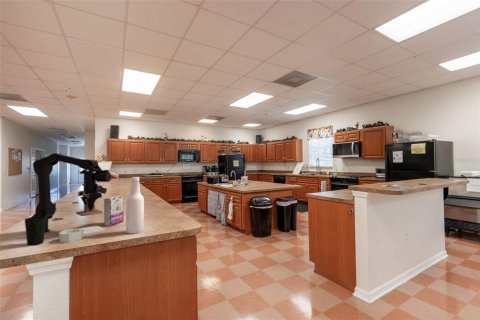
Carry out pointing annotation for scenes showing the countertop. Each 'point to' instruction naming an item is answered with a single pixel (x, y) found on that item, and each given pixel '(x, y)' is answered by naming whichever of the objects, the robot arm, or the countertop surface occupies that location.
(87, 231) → the mat
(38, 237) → the cup
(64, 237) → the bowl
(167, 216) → the countertop surface
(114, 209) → the candy bar box
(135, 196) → the alcohol
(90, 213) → the lid
